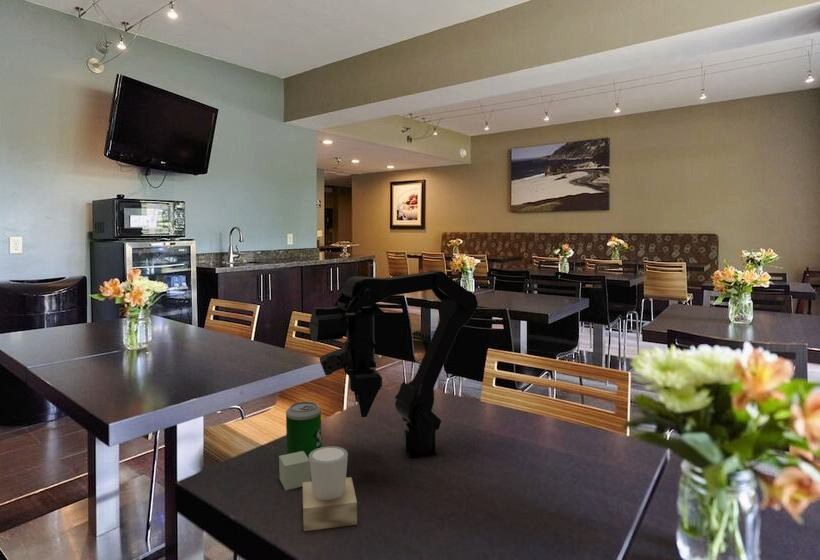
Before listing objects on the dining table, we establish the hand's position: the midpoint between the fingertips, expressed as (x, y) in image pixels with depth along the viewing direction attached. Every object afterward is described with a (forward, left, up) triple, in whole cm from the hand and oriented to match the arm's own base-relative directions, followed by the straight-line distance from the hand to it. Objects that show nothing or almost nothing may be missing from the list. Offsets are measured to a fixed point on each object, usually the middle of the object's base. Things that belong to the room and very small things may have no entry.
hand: (361, 409), depth 106 cm
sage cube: (+14, +4, -13) cm, 19 cm away
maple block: (+8, +17, -12) cm, 23 cm away
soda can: (+12, -6, -13) cm, 18 cm away
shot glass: (+8, +17, -9) cm, 21 cm away
